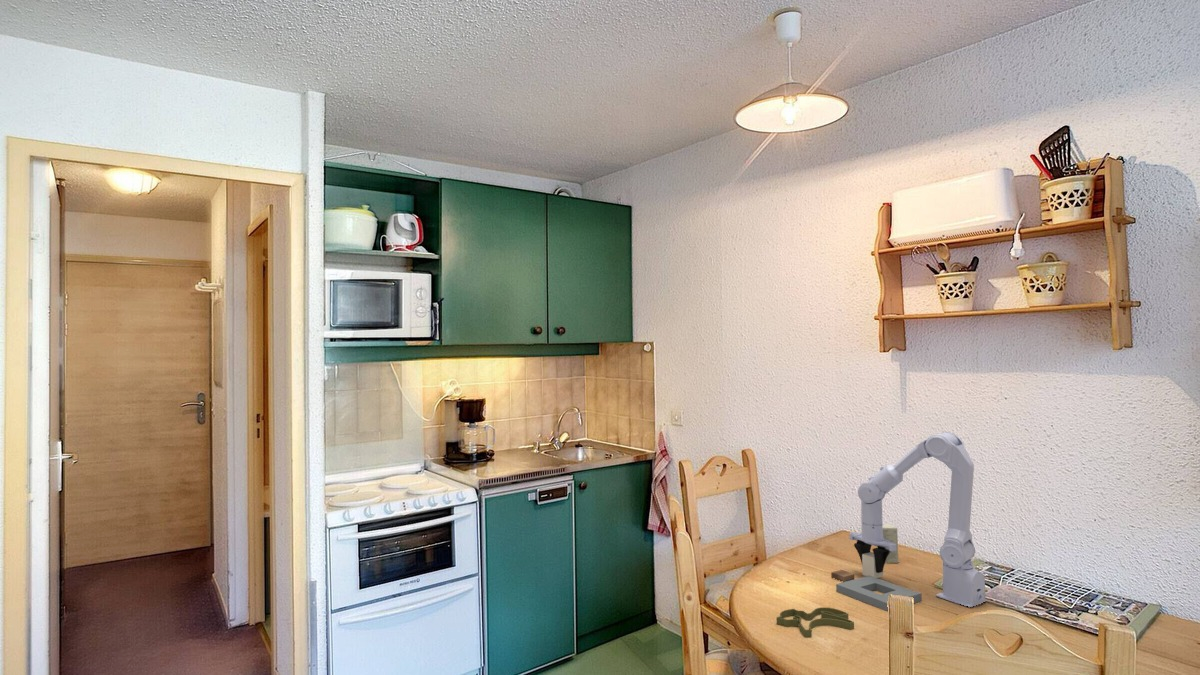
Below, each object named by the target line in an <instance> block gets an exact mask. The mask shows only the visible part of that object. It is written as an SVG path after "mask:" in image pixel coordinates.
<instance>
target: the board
mask: <svg viewBox="0 0 1200 675" xmlns="http://www.w3.org/2000/svg"><path fill="white" fill-rule="evenodd" d="M835 586H836V587H835V589H836V590H835V591H836V593H840V594H841V595H845V596H848V597H849V598H853V599H855V600H858V601H860V602H863V603H865V604H868V605H871V606H873V607H875V608H879V609H880V610H883V611H886V612H889V611H888V607H887V601H888V596H889V595H890V594H893V595H902V596H908V597H913V598H914V602H915V603H914V604H916V603H919V602H920V603H921V602H922V592H919V591H916V590H913V589H910V588H907V587H905V586H901V585H898V584H895V583H893V582H889V581H887V580H883V579H881V578H875V577H872V576H863V577H859V578H854V580H850V581H846V582H839V583H836V584H835ZM874 591H877V592H880V593H877V592H874Z"/></svg>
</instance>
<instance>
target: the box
mask: <svg viewBox="0 0 1200 675" xmlns="http://www.w3.org/2000/svg"><path fill="white" fill-rule="evenodd" d="M883 539H885V540H887V541H890V542H892V543H895V544H896V551H893V552H892V551H891V552H890V553H889V555H888V557H887V559H886V561H885V564H899V544H898V541H899V540H898V527H896V526H895V525H893V524H883Z"/></svg>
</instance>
